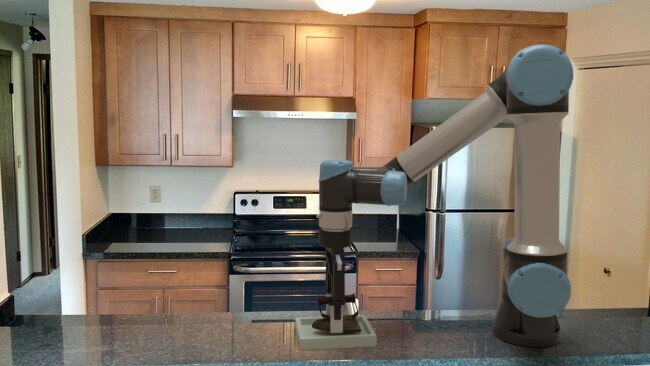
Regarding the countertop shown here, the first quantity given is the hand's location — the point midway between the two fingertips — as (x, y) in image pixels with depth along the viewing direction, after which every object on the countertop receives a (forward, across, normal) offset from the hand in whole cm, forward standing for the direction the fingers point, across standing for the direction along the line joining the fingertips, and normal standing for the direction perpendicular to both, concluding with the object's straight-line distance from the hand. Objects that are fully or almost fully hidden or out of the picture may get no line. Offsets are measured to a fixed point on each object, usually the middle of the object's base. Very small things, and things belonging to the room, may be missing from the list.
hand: (334, 326), depth 126 cm
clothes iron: (+1, 0, 0) cm, 1 cm away
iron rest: (+3, 0, 0) cm, 3 cm away
